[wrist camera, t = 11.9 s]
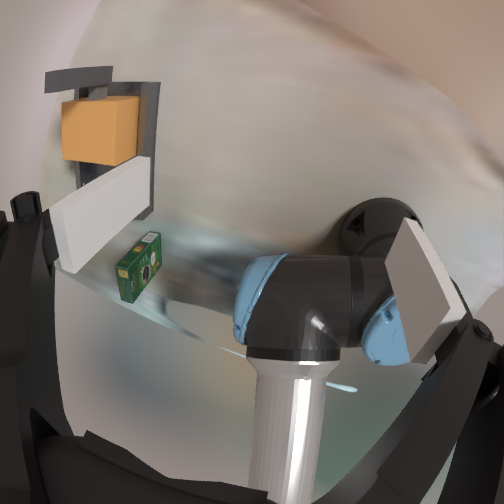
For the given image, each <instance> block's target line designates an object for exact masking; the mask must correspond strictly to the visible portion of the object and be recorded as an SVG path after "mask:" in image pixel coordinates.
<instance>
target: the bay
mask: <svg viewBox="0 0 504 504" xmlns="http://www.w3.org/2000/svg"><path fill="white" fill-rule="evenodd" d="M160 84H161V82H111V84H108V91H107V96H141V97H140V110H139V125H138V148H137V155H136V156H134V157H132V158H130V159H128V160H126V161H124V162H122V163H121V164H119V165H117V166H111V165H104V164H97V163H89V162H81V161H75V172H76V184H77V190H78V189H79V188H81V187H83V186H84V185H86V184H88V183H89V182H91V181H93V180H95V179H96V178H98V177H100V176H102V175H103V174H105V173H107V172H109V171H110V170H112V169H114V168H116V167H118V166H120V165H122V164H123V163H125V162H127V161H129V160H131V159H133V158H135V157H137V156H143V157H150V205H149V206H148V207H147V208H145V209H144V210H143V211H142V212H141V213H140V214H138V215H137V216H136V217H135V218H137V219H141V220H144V219H145V218H146V217H147V216H148V215H149V214H150V213H151V212H152V211H153V197H154V160H155V141H156V126H157V114H158V103H159V93H160ZM88 95H89V87H82V88H76V89H75V93H74V100H76V99H81V98H85V97H88Z"/></svg>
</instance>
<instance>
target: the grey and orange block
mask: <svg viewBox="0 0 504 504" xmlns="http://www.w3.org/2000/svg"><path fill="white" fill-rule="evenodd" d="M112 71H113V66H100V67H84V68H72V69H63V70H56V71H51V72H46V73H45V93H52V92H60V91H65V90H70V89H76V88H82V87H89V95H88V97H85V98H81V99H76V100H71V101H67V102H63V103H62V153H63V159H65V160H73V161H81V162H89V163H97V164H104V165H111V166H117V165H119V164H121V163H122V162H124V161H126V160H128V159H130V158H132V157H134V156H136V155H137V148H138V125H139V110H140V97H141V96H107V91H108V84H111V82H112Z"/></svg>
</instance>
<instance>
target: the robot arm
mask: <svg viewBox="0 0 504 504" xmlns="http://www.w3.org/2000/svg"><path fill="white" fill-rule="evenodd" d="M10 203H11V208H12V213H13V217H14V222H7V219H6V215H5V212H4V211H0V504H310V502H311V496H312V491H313V485H314V479H315V473H316V466H317V460H318V453H319V445H320V437H321V429H322V420H323V411H324V401H325V390H326V377H327V375H328V373H329V372H330V371H331V370H332V369H333V368H335V367H336V366H337V365H338V364H339V363H340V349H341V348H346V347H349V348H350V347H362V351H363V352H364V354H365V355H366V357H367V358H368V359H369V360H371V361H375V363H376V364H379V365H383V366H395V365H401V364H405V363H408V362H413V363H422V364H426V363H427V362H428V361H429V360H430V359H431V357H432V356H433V355H434V354H435V356H436V360H437V362H436V363H435V364H434V366H433V367H432V368H431V369H430V370H429V371H428V372H427V373H426V375H424V377H423V378H422V379H421V380H422V381H423V382H422V383H421V385H420V386H419V388H418V389H417V391H416V392H415V394H414V395H413V396H412V398H411V399H410V401H409V402H408V404H407V405H406V406H405V408H404V409H403V410H402V412H401V413H400V414H399V416H398V417H397V418H396V420H395V421H394V422H393V423H392V424H391V426H390V427H389V428H388V430H387V431H386V432H385V433H384V434H383V436H382V437H381V438H380V439H379V440H378V441H377V443H376V444H375V445H374V446H373V447H372V448H371V449H370V451H369V452H368V453H367V454H366V455H365V456H364V457H363V458H362V459H361V460H360V461H359V463H358V464H357V465H356V466H355V467H354V468H353V469H352V470H351V471H350V472H349V473H348V474H347V475H346V476H345V477H344V478H343V479H342V480H341V481H340V482H339V483H337V484H336V485H335V486H334V487H333V488H332V489H331V490H330V491H329V492H328V493H326V494H325V495H324V496H323V497H321V498H320V499H318V500H317V501H315V502H313V503H312V504H420V502H421V501H422V499H423V497H424V496H425V495H426V493H427V492H428V490H429V488H430V487H431V485H432V484H433V482H434V480H435V479H436V477H437V475H438V474H439V472H440V471H441V469H442V467H443V466H444V463H445V462H446V460H447V458H448V457H449V455H450V453H451V451H452V449H453V447H454V445H455V443H456V441H457V443H456V447H455V451H454V455H453V458H452V462H451V465H450V468H449V472H448V475H447V478H446V481H445V484H444V487H443V489H442V492H441V495H440V498H439V500H438V503H437V504H504V345H503V346H501V345H499V344H497V343H495V342H494V338H493V335H492V332H491V331H490V330H489V328H488V327H487V326H486V325H485V324H484V323H483V322H481V321H479V320H476V319H473V317H472V315H471V312H470V310H469V308H468V306H467V304H466V302H465V301H464V298H463V296H462V294H461V292H460V290H459V288H458V286H457V284H456V283H455V282H454V281H453V280H452V279H451V277H450V276H449V275H448V274H447V272H446V270H445V268H444V266H443V264H442V263H441V261H440V259H439V257H438V255H437V254H436V252H435V250H434V249H433V247H432V245H431V243H430V242H429V240H428V238H427V237H426V235H425V234H424V230H423V227H422V224H421V222H420V220H419V218H418V217H417V215H416V214H415V212H414V211H413V210H412V209H411V208H410V207H409V206H408V205H406V204H405V203H403V202H401V201H399V200H396V199H393V198H375V199H371V200H368V201H366V202H363V203H362V204H360V205H358V206H357V207H356V208H354V209H353V210H352V211H351V212H350V213H349V214H348V216H347V217H346V218H345V220H344V222H343V224H342V226H341V229H340V234H339V246H340V253H341V255H290V254H289V253H284V254H282V255H267V256H259V257H257V258H255V259H254V260H252V261H251V262H250V263H249V265H248V266H247V268H246V269H245V271H244V273H243V275H242V278H241V280H240V283H239V286H238V290H237V294H236V298H235V304H234V311H233V322H234V328H233V333H234V337H235V339H236V341H237V342H239V343H241V344H242V345H247V353H246V359H247V361H248V362H249V363H250V364H251V365H252V366H253V367H254V368H255V370H256V372H257V384H256V397H255V409H254V410H255V411H254V422H253V433H252V445H251V457H250V468H249V480H248V488H246V487H241V486H237V485H232V484H227V483H223V482H211V481H193V480H182V479H172V478H168V477H165V476H164V475H162V474H161V473H159V472H157V471H156V470H154V469H153V468H151V467H150V466H149V465H147V464H145V463H144V462H143V461H141V460H140V459H139V458H137V457H136V456H134V455H133V454H132V453H130V452H129V451H128V450H126V449H124V448H122V447H120V446H118V445H116V444H113V443H111V442H110V441H107V440H105V439H103V438H101V437H100V436H98V435H96V434H93V433H91V432H90V431H88V430H87V431H86V433H85V435H84V437H81V436H74V434H73V432H72V430H71V427H70V425H69V423H68V421H67V419H66V416H65V413H64V409H63V402H62V396H61V389H60V382H59V374H58V365H57V354H56V339H55V313H54V295H55V266H54V261H55V260H56V259H57V258H58V257H59V259H60V263H61V267H62V269H63V270H66V271H68V272H71V273H73V274H76V273H77V272H78V271H79V270H80V269H81V268H82V267H83V266H84V265H85V264H86V263H87V262H88V261H89V260H90V259H91V258H92V257H93V256H94V255H95V254H96V253H97V252H98V251H99V250H100V249H101V248H102V247H103V246H104V245H105V244H106V243H107V242H109V241H110V240H111V239H112V238H113V237H114V236H115V235H116V234H117V233H118V232H119V231H120V230H122V229H123V228H124V227H125V226H126V225H127V224H128V223H129V222H131V221H132V220H133V219H134V218H135V217H136V216H137V215H138V214H140V213H141V212H142V211H143V210H144V209H145V208H147V207H148V206H149V205H150V157H143V156H137V157H135V158H133V159H131V160H129V161H127V162H125V163H123V164H122V165H120V166H118V167H116V168H114V169H112V170H110V171H109V172H107V173H105V174H103V175H102V176H100V177H98V178H96V179H95V180H93V181H91V182H89V183H88V184H86V185H84V186H83V187H81V188H79V189H78V190H76V191H75V192H73V193H71V194H70V195H68V196H67V197H65V198H63V199H62V200H60V201H59V202H57V203H56V204H54V205H53V206H51V207H50V208H49V209H47V210H46V211H44V212H43V213H42V208H41V202H40V196H39V193H38V192H35V191H29V192H25V193H21V194H19V195H17V196H16V197H14V198H13V199H12V200H11V201H10ZM496 392H497V394H496V395H495V397H494V394H495V393H496Z"/></svg>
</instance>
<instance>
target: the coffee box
mask: <svg viewBox="0 0 504 504" xmlns="http://www.w3.org/2000/svg"><path fill="white" fill-rule="evenodd" d="M161 266H162V256H161V234H160V233H156V232H151V231H150V232H149V233H148V234H146V235H145V236H144V237H143V238H142V239H141V240H140V241H139V242H138V243H137V244H136V245H135V246H134V247H133V248H132V249H131V250H130V251H129V252H128V253H127V254H126V255H125V256H124V257H123V258H122V259H121V260H120V261H119V262H118V263H117V264H116V265H115V268H116V274H117V280H118V286H119V291H120V296H121V300H123V301H125V302H128V303H132V304H133V303H134V302H135V300H136V299H137V298H138V296H139V295H140V293H141V292H142V291H143V289H144V288H145V287H146V285H147V284H148V283H149V281H150V280H151V279H152V277H153V276H154V275H155V274H156V272H157V271H158V270H159V268H160V267H161Z"/></svg>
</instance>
